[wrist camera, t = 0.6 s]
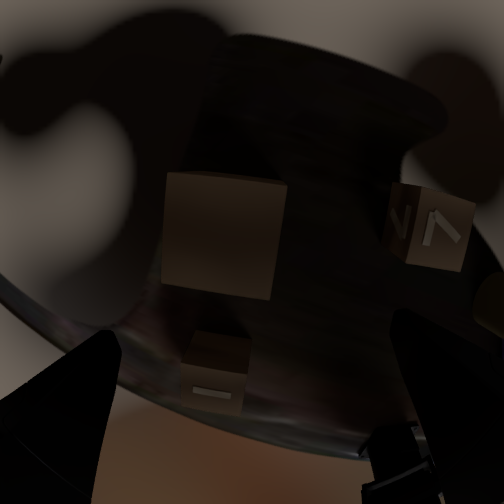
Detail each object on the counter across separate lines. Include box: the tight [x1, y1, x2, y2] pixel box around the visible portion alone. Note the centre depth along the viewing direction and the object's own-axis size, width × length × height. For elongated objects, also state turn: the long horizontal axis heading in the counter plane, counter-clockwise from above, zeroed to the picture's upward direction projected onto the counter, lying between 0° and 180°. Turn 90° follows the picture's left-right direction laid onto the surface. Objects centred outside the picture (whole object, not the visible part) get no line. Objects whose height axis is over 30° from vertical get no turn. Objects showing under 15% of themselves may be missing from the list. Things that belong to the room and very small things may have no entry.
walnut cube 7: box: [381, 182, 476, 272], centre depth 18 cm, size 5×5×5 cm
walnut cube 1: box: [181, 330, 252, 417], centre depth 23 cm, size 5×5×5 cm
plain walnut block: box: [161, 171, 287, 300], centre depth 18 cm, size 6×6×8 cm
